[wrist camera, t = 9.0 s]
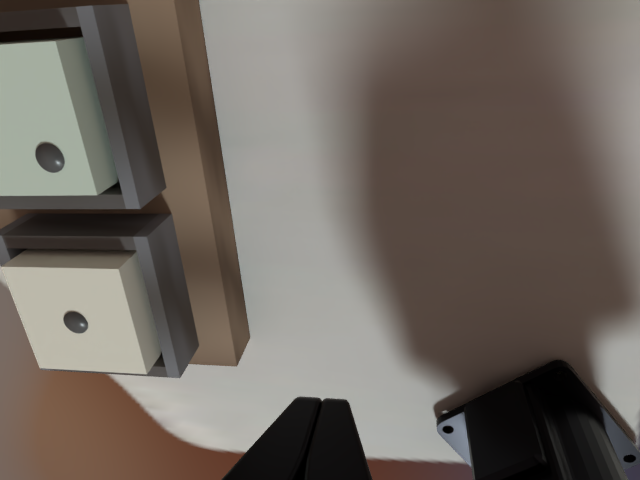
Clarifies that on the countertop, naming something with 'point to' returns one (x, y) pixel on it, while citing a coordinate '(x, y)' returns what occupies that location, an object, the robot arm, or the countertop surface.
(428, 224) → the countertop surface
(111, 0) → the digit board
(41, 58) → the tile two
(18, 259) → the tile one
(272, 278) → the countertop surface
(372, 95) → the countertop surface
